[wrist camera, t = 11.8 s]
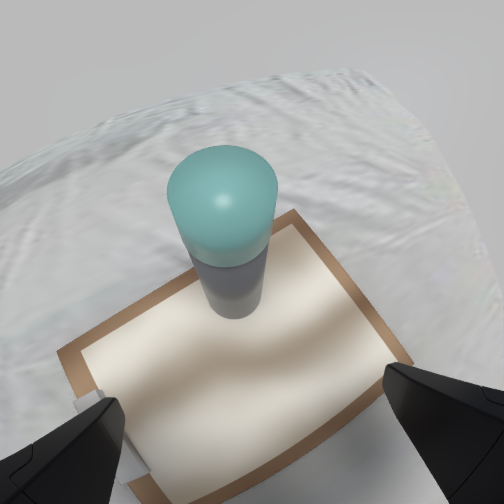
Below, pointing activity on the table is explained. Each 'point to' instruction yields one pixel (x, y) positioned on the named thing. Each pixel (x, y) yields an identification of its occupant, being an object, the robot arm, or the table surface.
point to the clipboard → (235, 373)
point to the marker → (226, 223)
